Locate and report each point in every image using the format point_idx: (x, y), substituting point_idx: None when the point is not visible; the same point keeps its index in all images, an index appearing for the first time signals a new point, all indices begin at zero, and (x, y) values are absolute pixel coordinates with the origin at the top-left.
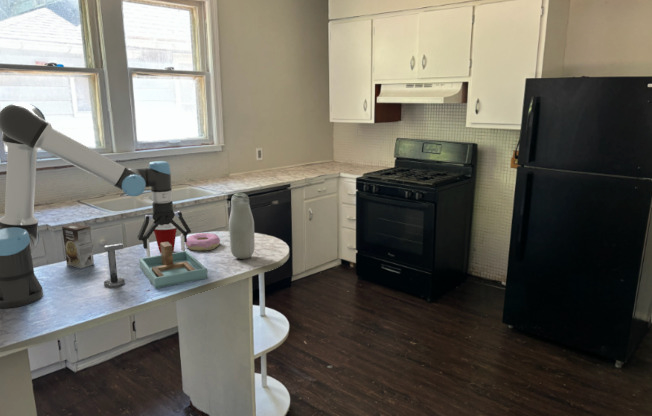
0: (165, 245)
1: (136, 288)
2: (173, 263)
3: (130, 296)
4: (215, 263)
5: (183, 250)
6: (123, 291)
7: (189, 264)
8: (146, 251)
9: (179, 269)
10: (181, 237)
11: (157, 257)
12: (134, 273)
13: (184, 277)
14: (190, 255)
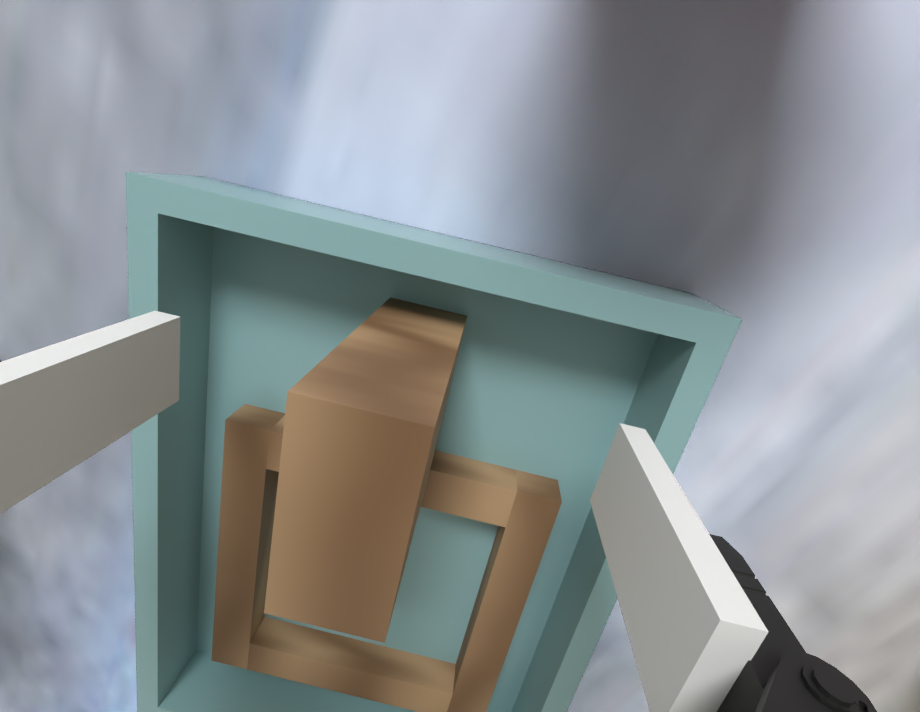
0: (304, 578)
1: (86, 566)
2: (486, 364)
3: (37, 634)
4: (778, 569)
5: (594, 510)
6: (7, 552)
7: (527, 584)
8: (109, 331)
9: (446, 527)
10: (666, 628)
11: (347, 254)
12: (126, 292)
13: None
14: None
